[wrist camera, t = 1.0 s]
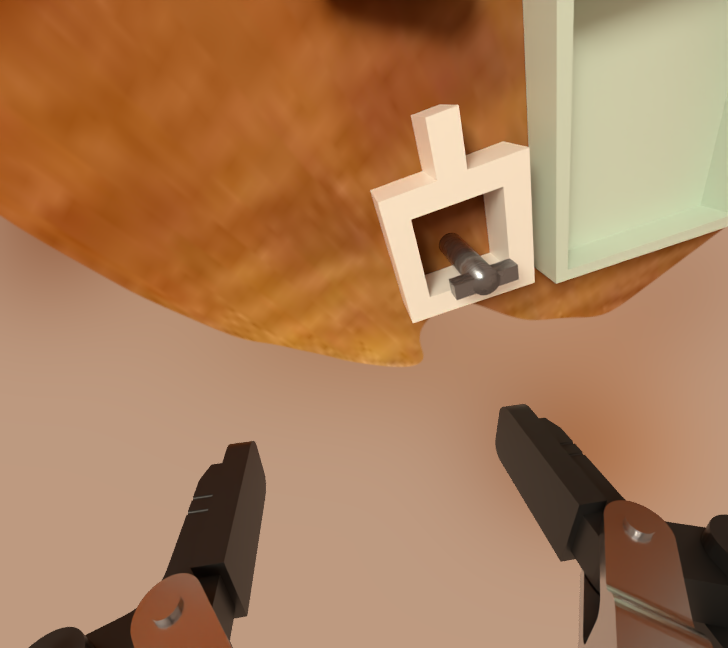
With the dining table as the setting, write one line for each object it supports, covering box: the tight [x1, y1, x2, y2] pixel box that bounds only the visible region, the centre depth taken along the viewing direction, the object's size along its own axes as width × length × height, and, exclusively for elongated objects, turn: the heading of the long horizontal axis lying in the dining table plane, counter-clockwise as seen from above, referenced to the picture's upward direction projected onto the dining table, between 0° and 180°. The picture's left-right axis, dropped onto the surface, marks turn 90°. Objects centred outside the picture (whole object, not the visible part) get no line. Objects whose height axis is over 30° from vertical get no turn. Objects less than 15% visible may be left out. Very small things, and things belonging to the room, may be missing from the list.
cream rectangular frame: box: [370, 104, 535, 323], centre depth 28 cm, size 15×11×4 cm
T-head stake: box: [439, 233, 519, 300], centre depth 28 cm, size 2×5×8 cm, turn 108°
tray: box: [523, 0, 728, 284], centre depth 26 cm, size 20×16×4 cm
